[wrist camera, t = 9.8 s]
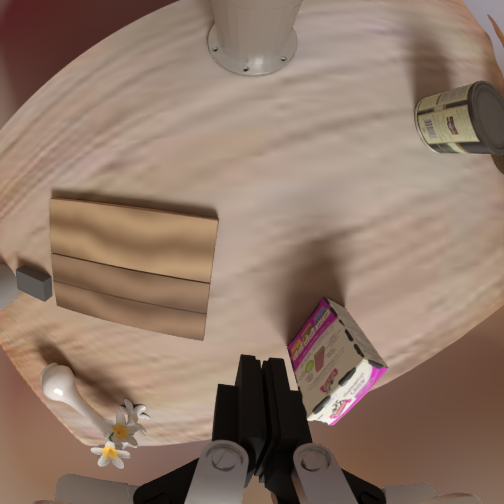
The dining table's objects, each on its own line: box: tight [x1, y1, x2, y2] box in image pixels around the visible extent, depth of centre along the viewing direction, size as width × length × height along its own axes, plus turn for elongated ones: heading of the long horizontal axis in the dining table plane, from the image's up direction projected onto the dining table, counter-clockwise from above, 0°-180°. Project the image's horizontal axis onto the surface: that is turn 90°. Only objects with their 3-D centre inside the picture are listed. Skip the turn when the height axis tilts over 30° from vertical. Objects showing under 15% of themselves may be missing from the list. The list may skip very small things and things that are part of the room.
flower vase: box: [40, 363, 150, 469], centre depth 41 cm, size 13×18×25 cm
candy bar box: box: [287, 297, 388, 425], centre depth 35 cm, size 11×5×16 cm, turn 150°
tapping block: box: [16, 265, 52, 302], centre depth 38 cm, size 8×4×3 cm, turn 75°
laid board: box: [51, 253, 211, 341], centre depth 39 cm, size 10×28×2 cm, turn 80°
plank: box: [50, 198, 219, 283], centre depth 37 cm, size 9×28×1 cm, turn 80°
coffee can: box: [415, 81, 504, 155], centre depth 27 cm, size 10×10×14 cm
